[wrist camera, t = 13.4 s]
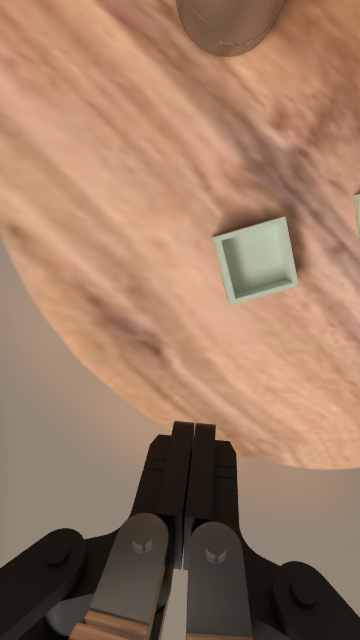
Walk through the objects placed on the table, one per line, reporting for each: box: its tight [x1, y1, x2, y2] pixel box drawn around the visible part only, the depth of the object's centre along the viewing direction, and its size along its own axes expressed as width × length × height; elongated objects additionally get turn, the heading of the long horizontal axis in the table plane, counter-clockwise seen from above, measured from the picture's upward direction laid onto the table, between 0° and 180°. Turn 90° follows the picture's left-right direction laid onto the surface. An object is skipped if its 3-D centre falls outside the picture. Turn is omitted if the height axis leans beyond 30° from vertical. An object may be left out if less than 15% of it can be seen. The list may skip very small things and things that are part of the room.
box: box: [212, 217, 299, 305], centre depth 33 cm, size 7×7×2 cm
